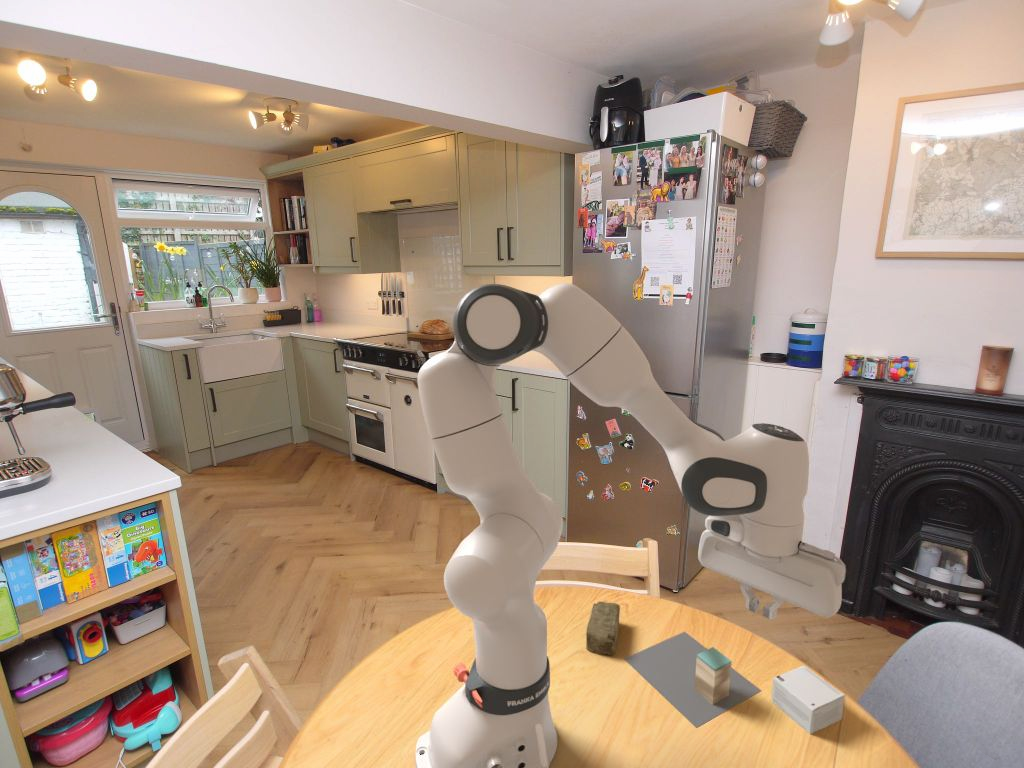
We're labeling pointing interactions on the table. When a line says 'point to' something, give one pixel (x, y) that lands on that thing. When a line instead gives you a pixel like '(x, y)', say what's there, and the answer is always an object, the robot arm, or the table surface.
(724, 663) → the birch block
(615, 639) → the stone block
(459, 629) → the table surface
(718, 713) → the rubber mat
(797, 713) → the small box
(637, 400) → the robot arm
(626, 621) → the table surface
